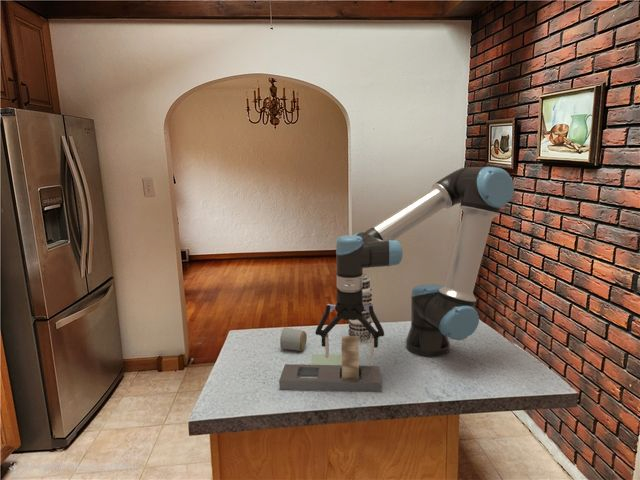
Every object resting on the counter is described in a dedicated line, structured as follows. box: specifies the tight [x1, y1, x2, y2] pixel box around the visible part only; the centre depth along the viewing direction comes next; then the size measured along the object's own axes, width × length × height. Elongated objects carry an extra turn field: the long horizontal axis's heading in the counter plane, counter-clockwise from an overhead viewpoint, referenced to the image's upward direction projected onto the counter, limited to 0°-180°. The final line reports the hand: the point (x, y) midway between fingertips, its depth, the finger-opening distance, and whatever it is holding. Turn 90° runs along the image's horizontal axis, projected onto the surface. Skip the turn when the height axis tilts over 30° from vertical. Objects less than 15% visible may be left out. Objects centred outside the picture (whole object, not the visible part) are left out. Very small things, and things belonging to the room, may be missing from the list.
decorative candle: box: [348, 273, 373, 344], centre depth 155 cm, size 9×9×25 cm
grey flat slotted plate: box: [278, 363, 383, 393], centre depth 127 cm, size 30×10×3 cm, turn 85°
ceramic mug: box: [279, 327, 308, 352], centre depth 151 cm, size 11×8×8 cm
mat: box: [309, 353, 342, 365], centre depth 139 cm, size 11×11×1 cm
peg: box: [341, 335, 360, 379], centre depth 125 cm, size 5×5×14 cm
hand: (349, 356), depth 125 cm, fingers open, 13 cm apart
